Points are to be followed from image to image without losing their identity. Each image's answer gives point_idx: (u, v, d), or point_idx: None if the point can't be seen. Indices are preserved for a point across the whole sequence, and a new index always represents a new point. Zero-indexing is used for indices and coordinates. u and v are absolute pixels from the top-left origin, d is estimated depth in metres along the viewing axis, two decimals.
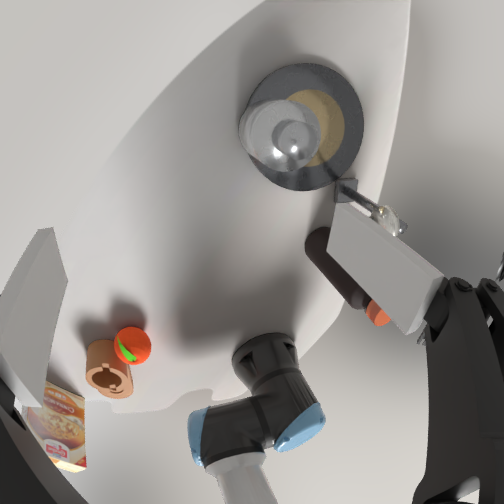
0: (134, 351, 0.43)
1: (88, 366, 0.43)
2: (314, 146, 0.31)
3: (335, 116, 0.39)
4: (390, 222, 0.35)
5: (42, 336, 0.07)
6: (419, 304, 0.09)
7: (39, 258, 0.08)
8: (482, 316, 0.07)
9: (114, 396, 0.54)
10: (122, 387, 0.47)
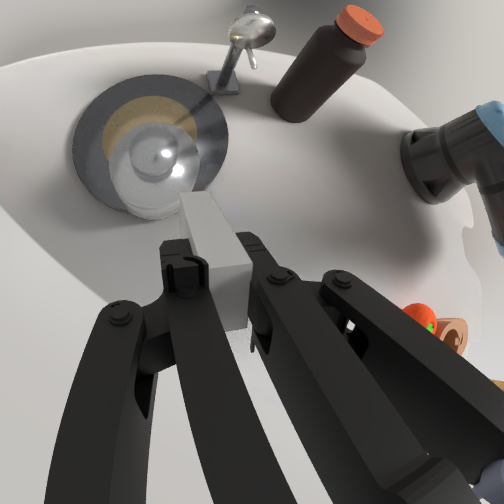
0: (423, 325, 0.35)
1: None
2: (159, 128, 0.23)
3: (132, 109, 0.31)
4: (247, 24, 0.22)
5: None
6: (226, 296, 0.09)
7: None
8: (320, 311, 0.07)
9: (465, 341, 0.44)
10: (459, 329, 0.38)
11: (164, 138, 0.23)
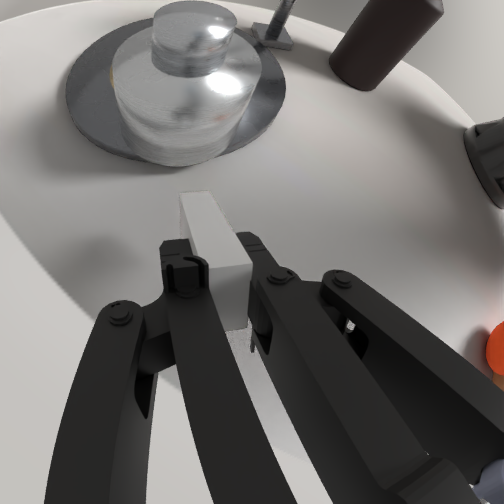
0: None
1: None
2: (206, 2, 0.11)
3: None
4: None
5: None
6: (226, 296, 0.09)
7: None
8: (320, 311, 0.07)
9: None
10: None
11: (214, 10, 0.11)
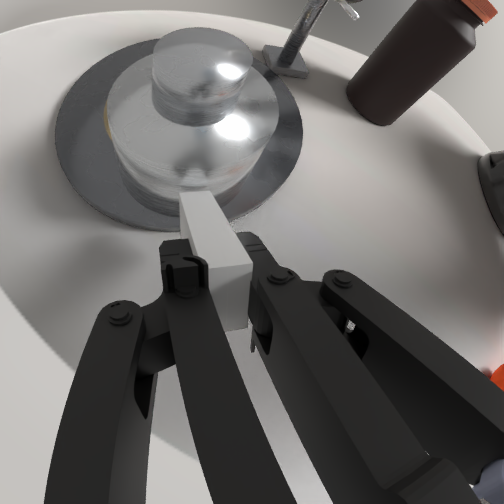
0: None
1: None
2: (216, 30, 0.11)
3: None
4: None
5: None
6: (226, 296, 0.09)
7: None
8: (320, 310, 0.07)
9: None
10: None
11: (225, 42, 0.11)
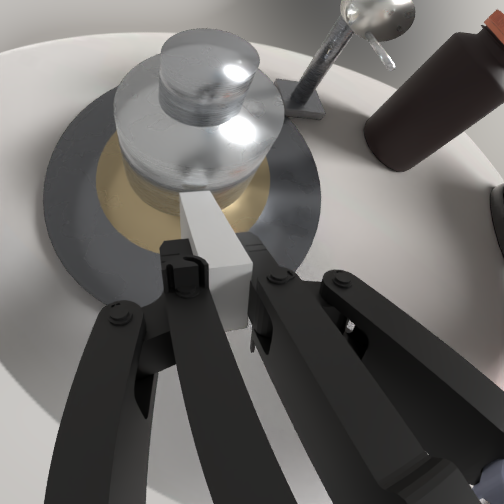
0: None
1: None
2: (225, 32, 0.11)
3: None
4: None
5: None
6: (226, 296, 0.09)
7: None
8: (320, 311, 0.07)
9: None
10: None
11: (233, 44, 0.11)
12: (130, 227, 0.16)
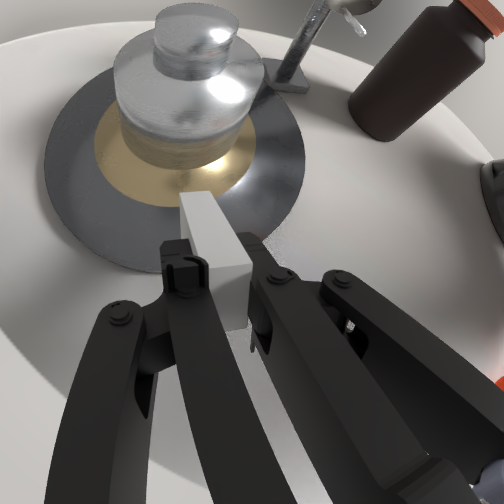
0: None
1: None
2: (210, 5, 0.12)
3: None
4: None
5: None
6: (226, 296, 0.09)
7: None
8: (320, 311, 0.07)
9: None
10: None
11: (217, 13, 0.11)
12: (124, 182, 0.17)
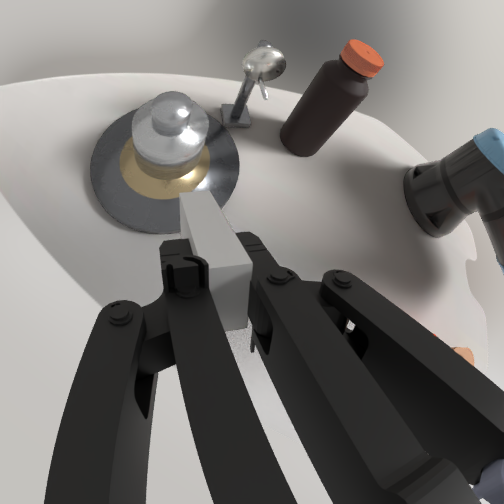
0: None
1: None
2: (179, 93, 0.28)
3: None
4: (260, 56, 0.27)
5: None
6: (226, 296, 0.09)
7: None
8: (320, 311, 0.07)
9: None
10: (466, 355, 0.35)
11: (182, 99, 0.27)
12: (137, 186, 0.33)
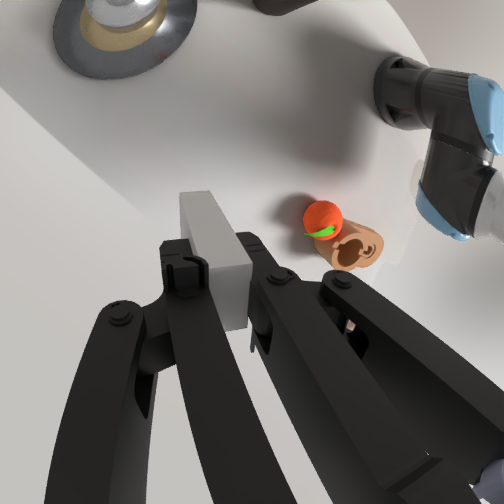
0: (324, 224, 0.46)
1: (328, 261, 0.51)
2: None
3: None
4: None
5: None
6: (226, 296, 0.09)
7: None
8: (320, 311, 0.07)
9: (376, 256, 0.60)
10: (366, 243, 0.51)
11: None
12: (93, 40, 0.25)
